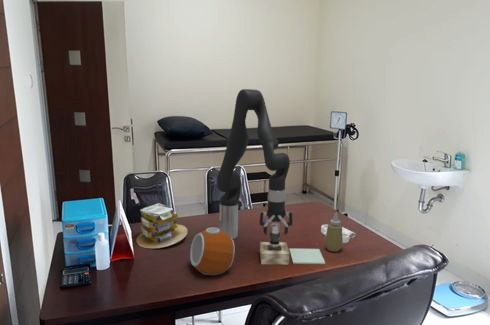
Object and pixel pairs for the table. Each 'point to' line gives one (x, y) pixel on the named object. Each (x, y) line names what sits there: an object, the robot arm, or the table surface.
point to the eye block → (274, 254)
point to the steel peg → (274, 237)
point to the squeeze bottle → (334, 235)
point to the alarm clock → (212, 251)
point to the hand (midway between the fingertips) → (275, 234)
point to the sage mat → (306, 256)
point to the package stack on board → (160, 227)
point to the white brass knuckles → (345, 233)
